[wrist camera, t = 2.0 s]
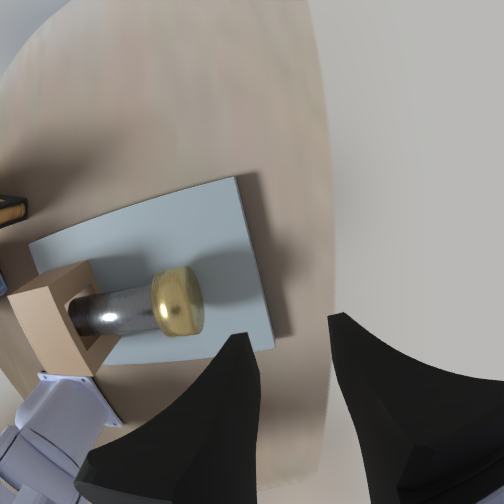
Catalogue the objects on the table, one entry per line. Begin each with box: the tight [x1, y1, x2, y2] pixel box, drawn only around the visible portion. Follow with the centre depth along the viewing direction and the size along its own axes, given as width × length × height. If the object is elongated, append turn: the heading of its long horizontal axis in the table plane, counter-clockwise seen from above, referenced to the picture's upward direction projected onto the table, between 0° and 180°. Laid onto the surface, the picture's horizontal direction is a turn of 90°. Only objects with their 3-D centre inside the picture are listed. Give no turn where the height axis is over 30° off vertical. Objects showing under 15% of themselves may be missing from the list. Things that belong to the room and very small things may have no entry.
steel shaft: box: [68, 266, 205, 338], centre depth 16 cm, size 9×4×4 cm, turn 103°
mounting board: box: [7, 176, 276, 376], centre depth 17 cm, size 18×12×6 cm, turn 103°
